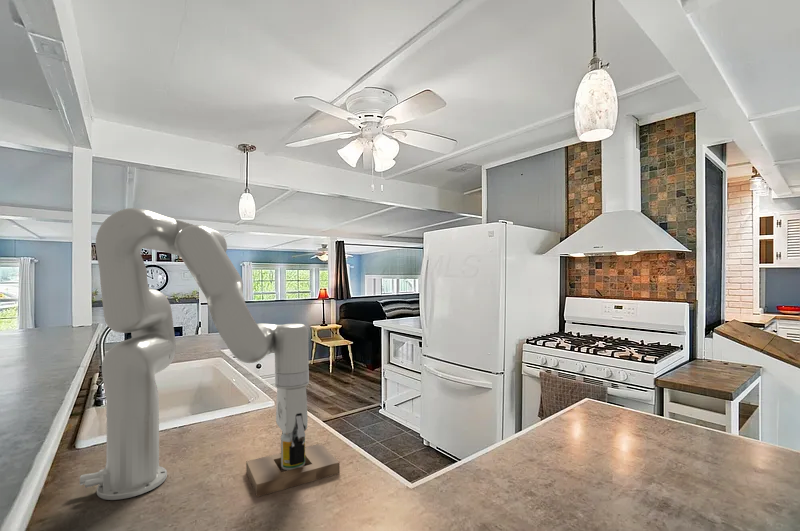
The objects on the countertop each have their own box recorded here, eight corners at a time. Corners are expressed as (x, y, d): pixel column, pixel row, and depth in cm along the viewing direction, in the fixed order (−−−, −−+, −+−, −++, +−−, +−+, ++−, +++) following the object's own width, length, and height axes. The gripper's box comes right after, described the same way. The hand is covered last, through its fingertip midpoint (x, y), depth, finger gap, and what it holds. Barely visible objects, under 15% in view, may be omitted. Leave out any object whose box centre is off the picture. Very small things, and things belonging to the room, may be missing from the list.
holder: (256, 497, 80) (256, 484, 81) (246, 472, 91) (246, 461, 91) (339, 473, 90) (339, 462, 90) (321, 453, 100) (321, 443, 100)
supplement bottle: (277, 465, 91) (276, 423, 91) (299, 458, 94) (298, 417, 94) (286, 474, 86) (286, 429, 87) (309, 466, 90) (308, 423, 90)
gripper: (266, 373, 96) (267, 448, 96) (285, 389, 82) (286, 478, 81) (297, 368, 100) (298, 441, 100) (320, 384, 85) (321, 468, 85)
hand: (293, 457), depth 90 cm, fingers closed on supplement bottle, 5 cm apart
